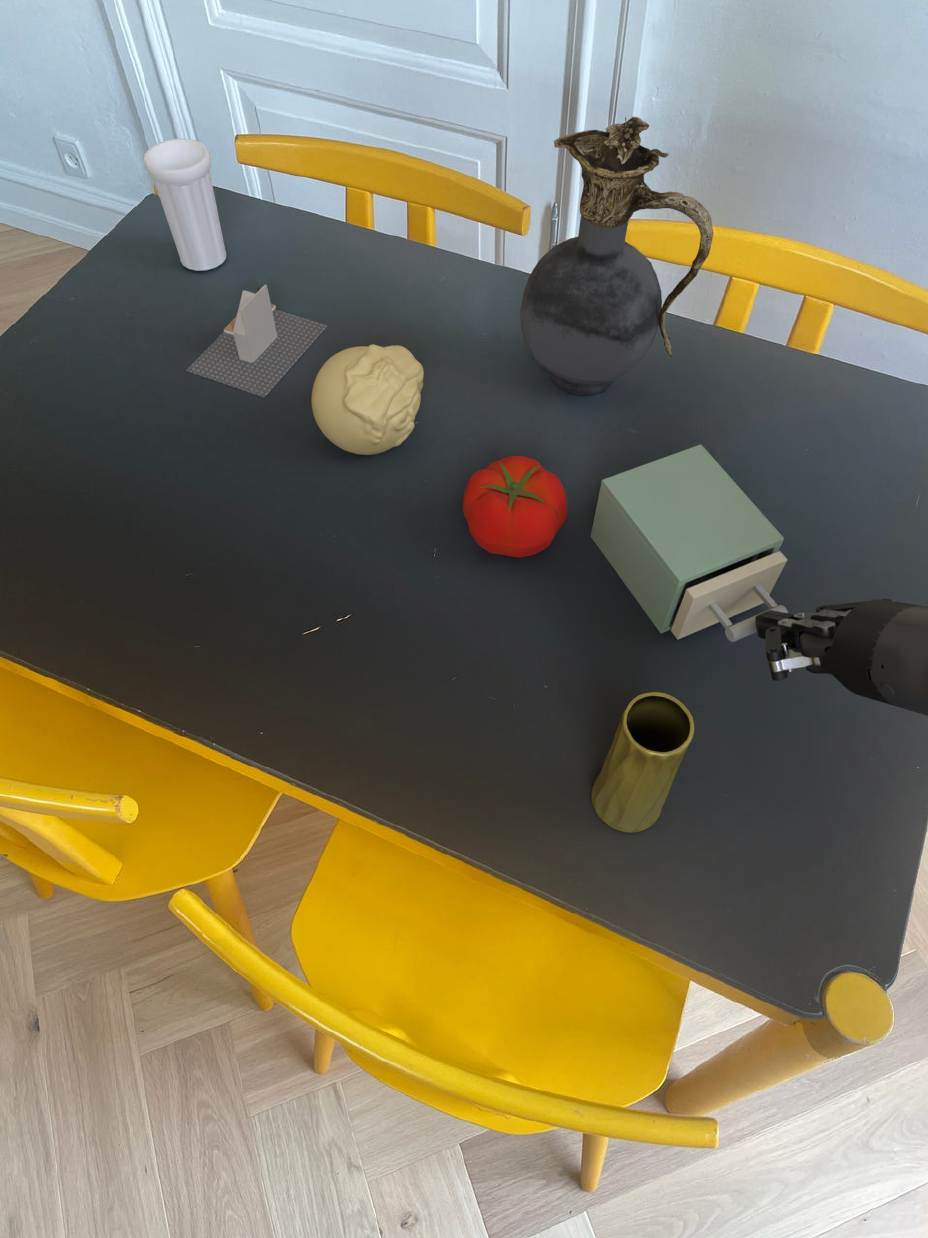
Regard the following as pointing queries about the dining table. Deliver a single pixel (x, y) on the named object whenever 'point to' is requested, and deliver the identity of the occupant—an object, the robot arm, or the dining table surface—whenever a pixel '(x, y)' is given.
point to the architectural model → (257, 346)
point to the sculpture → (368, 398)
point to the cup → (188, 200)
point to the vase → (642, 762)
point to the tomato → (514, 507)
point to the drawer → (729, 596)
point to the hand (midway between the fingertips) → (763, 623)
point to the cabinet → (676, 527)
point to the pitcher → (604, 268)
